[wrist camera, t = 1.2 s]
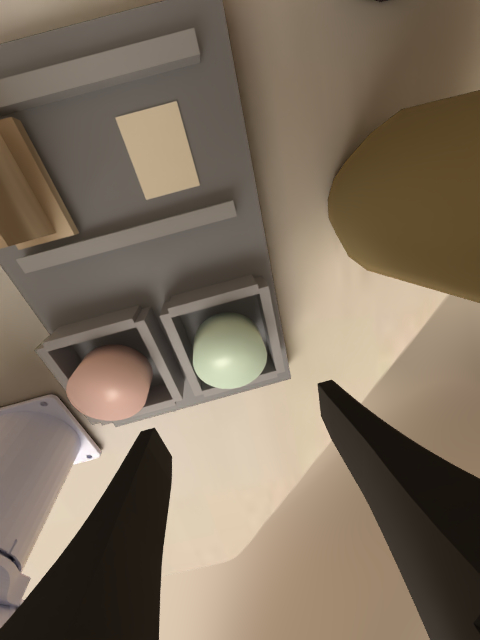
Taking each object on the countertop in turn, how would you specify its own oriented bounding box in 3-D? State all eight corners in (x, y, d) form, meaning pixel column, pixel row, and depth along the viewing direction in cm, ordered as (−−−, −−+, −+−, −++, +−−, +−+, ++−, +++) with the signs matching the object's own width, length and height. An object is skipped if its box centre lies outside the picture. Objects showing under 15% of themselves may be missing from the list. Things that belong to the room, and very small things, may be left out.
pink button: (102, 404, 18) (90, 428, 16) (67, 355, 15) (49, 376, 14) (162, 387, 18) (158, 409, 16) (136, 336, 16) (127, 354, 14)
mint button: (205, 376, 18) (205, 396, 16) (184, 323, 16) (182, 339, 14) (265, 359, 18) (272, 378, 16) (252, 304, 16) (259, 318, 14)
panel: (121, 412, 22) (107, 449, 19) (-94, 91, 12) (-202, 55, 9) (285, 367, 22) (299, 396, 19) (217, 9, 12) (223, -57, 9)
